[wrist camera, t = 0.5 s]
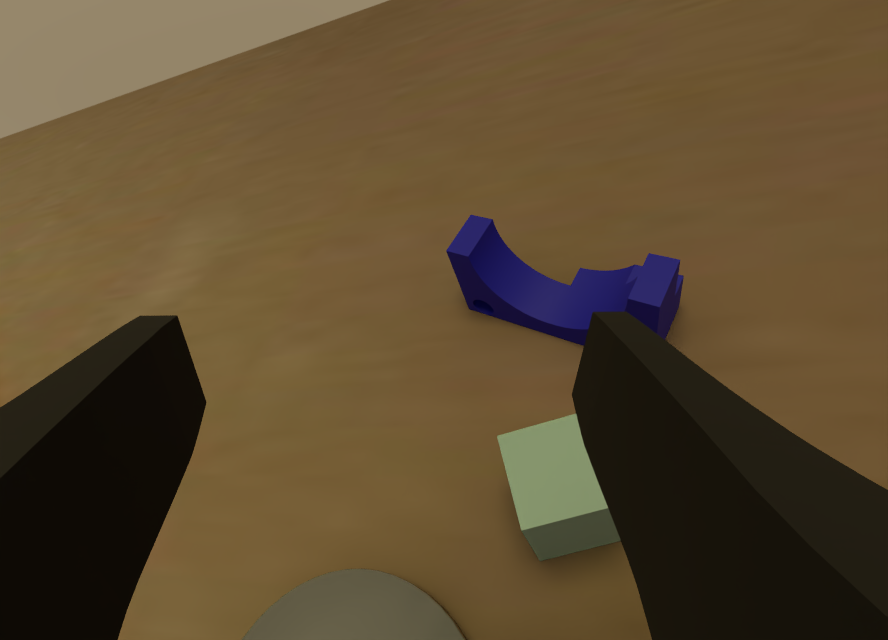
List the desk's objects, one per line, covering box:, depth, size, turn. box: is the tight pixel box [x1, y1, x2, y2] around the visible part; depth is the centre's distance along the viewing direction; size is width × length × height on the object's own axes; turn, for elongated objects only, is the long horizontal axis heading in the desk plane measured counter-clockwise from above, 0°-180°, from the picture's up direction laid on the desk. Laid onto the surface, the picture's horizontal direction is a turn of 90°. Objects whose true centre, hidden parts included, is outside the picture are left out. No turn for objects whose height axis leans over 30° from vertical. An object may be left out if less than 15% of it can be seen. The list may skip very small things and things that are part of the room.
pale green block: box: [497, 414, 621, 561], centre depth 23 cm, size 4×4×6 cm
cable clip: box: [447, 215, 684, 346], centre depth 30 cm, size 12×4×6 cm, turn 59°
